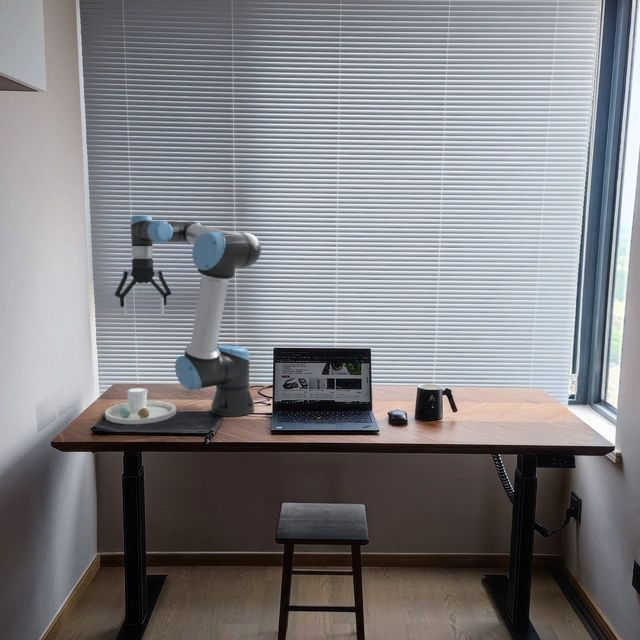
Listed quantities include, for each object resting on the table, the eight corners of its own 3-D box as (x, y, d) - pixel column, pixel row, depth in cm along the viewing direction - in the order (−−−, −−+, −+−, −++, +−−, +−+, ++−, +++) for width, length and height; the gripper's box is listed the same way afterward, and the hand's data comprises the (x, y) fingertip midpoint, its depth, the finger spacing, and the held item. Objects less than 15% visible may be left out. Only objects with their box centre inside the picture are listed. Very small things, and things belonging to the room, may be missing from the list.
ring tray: (168, 404, 232) (167, 398, 232) (182, 422, 212) (182, 414, 211) (101, 411, 223) (101, 404, 222) (110, 430, 202) (109, 422, 202)
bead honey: (148, 416, 214) (148, 406, 214) (150, 419, 211) (149, 409, 211) (137, 417, 213) (137, 407, 212) (139, 420, 210) (139, 410, 209)
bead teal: (130, 415, 215) (129, 405, 215) (131, 418, 212) (131, 407, 212) (119, 416, 214) (119, 406, 213) (120, 419, 211) (120, 408, 210)
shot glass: (149, 411, 221) (148, 391, 220) (128, 412, 218) (127, 393, 217) (146, 405, 227) (146, 386, 226) (126, 407, 224) (125, 388, 223)
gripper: (174, 257, 243) (175, 312, 246) (105, 257, 233) (107, 315, 236) (178, 258, 237) (179, 314, 240) (108, 258, 226) (110, 317, 229)
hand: (143, 314), depth 238 cm, fingers open, 13 cm apart
